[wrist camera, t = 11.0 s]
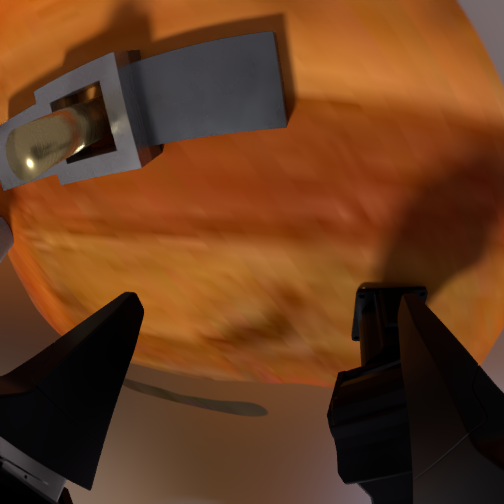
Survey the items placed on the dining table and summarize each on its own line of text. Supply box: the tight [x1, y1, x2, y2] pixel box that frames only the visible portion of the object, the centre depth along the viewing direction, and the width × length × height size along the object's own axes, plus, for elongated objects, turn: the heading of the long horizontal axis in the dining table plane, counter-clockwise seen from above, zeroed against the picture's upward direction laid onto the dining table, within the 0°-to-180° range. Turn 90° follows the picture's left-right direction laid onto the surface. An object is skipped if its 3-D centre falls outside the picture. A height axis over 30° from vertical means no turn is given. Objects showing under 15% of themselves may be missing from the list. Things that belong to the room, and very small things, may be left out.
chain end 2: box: [64, 31, 288, 160], centre depth 18 cm, size 8×17×2 cm, turn 98°
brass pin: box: [6, 95, 112, 182], centre depth 16 cm, size 3×3×9 cm
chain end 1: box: [0, 51, 152, 191], centre depth 19 cm, size 8×17×3 cm, turn 98°
